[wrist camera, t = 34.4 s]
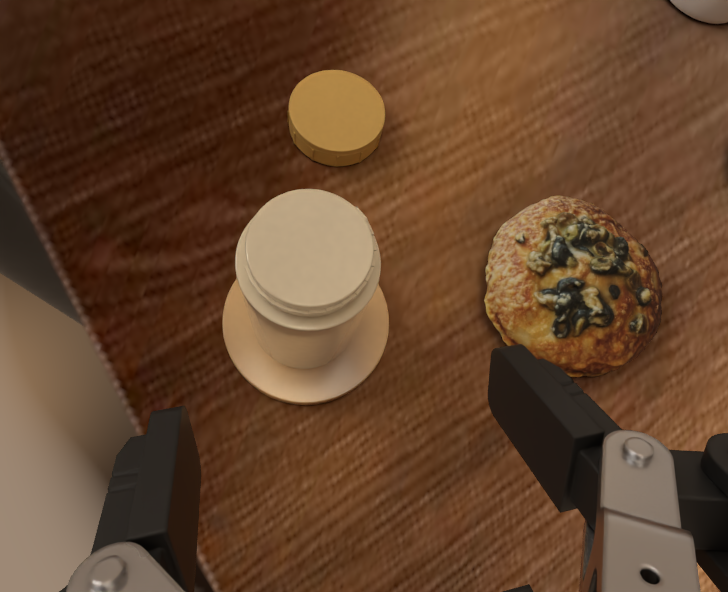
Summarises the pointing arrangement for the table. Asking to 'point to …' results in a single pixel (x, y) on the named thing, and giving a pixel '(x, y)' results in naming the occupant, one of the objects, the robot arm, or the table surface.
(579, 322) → the bread roll
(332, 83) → the lid
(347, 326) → the jar
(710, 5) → the pill bottle
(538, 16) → the table surface
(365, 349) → the coaster
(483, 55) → the table surface
